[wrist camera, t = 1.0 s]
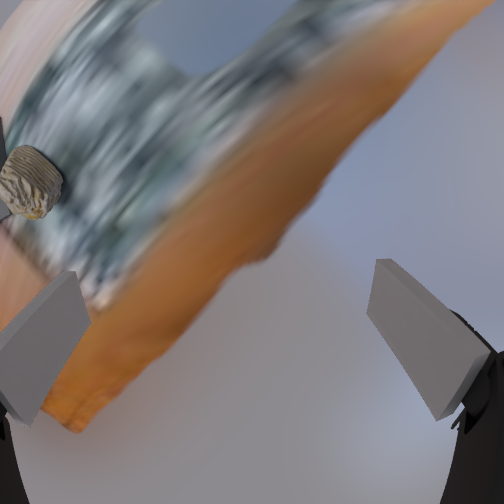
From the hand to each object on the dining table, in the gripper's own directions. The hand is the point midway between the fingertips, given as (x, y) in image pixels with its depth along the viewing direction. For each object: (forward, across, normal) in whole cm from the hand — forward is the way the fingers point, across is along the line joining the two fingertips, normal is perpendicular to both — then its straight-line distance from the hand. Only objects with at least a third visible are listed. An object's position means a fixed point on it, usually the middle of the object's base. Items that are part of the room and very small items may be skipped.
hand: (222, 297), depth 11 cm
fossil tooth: (+27, -30, +6) cm, 40 cm away
